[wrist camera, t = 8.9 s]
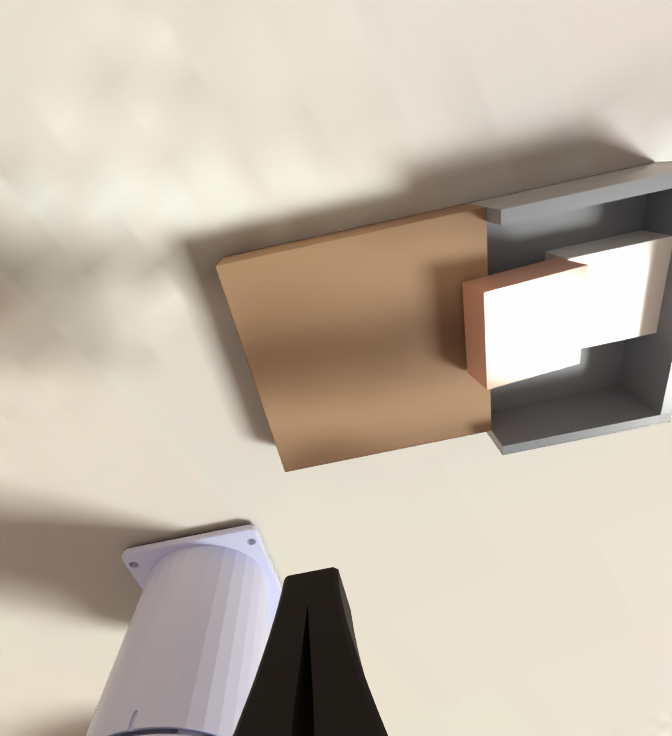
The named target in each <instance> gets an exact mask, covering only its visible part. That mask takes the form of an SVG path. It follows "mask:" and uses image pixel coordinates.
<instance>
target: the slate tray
mask: <svg viewBox="0 0 672 736" xmlns="http://www.w3.org/2000/svg"><path fill="white" fill-rule="evenodd" d="M468 204H473V205H479V206H484V207H486V218H487V262H488V276H489V275H493V274H496V273H500V272H504V271H508V270H512V269H516V268H519V267H523V266H527V265H531V264H535V263H538V262H542V261H545V251H549V250H553V249H558V248H562V247H567V246H572V245H576V244H581V243H585V242H590V241H595V240H599V239H604V238H608V237H613V236H618V235H622V234H627V233H631V232H636V231H640V230H643V231H649V232H655V233H661V234H667V235H672V161H670V162H654V163H649V164H645V165H640V166H636V167H631V168H627V169H622V170H618V171H613V172H609V173H604V174H599V175H595V176H590V177H586V178H581V179H577V180H572V181H568V182H563V183H559V184H554V185H549V186H545V187H540V188H536V189H531V190H527V191H522V192H518V193H513V194H509V195H504V196H499V197H495V198H490V199H486V200H481V201H477V202H472V203H468ZM490 395H491V431H487V433H488V435H489V436H490V437H491V439H492V440H493V442H494V443H495V445H496V446H497V448H498V449H499V450H500V452H501V453H502V455H506V454H511V453H516V452H521V451H526V450H531V449H536V448H541V447H546V446H551V445H556V444H561V443H566V442H571V441H576V440H581V439H586V438H591V437H596V436H601V435H606V434H611V433H616V432H621V431H626V430H631V429H636V428H641V427H646V426H651V425H656V424H661V423H666V422H670V419H671V415H672V251H671V256H670V262H669V267H668V272H667V278H666V283H665V289H664V294H663V299H662V305H661V310H660V315H659V321H658V326H657V332H656V333H653V334H648V335H644V336H639V337H634V338H629V339H624V340H620V341H615V342H610V343H605V344H601V345H596V346H591V347H586V348H581V352H580V362H579V364H575V365H572V366H568V367H565V368H561V369H558V370H554V371H551V372H547V373H544V374H540V375H537V376H533V377H530V378H527V379H523V380H520V381H516V382H513V383H509V384H506V385H502V386H499V387H495V388H492V389H490Z"/></svg>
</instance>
